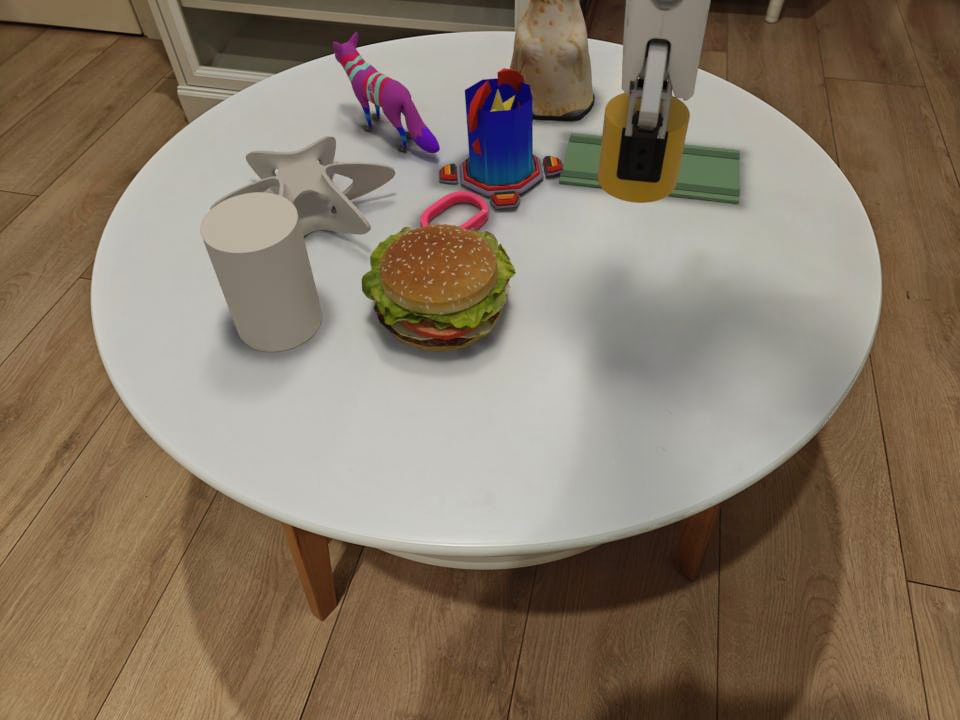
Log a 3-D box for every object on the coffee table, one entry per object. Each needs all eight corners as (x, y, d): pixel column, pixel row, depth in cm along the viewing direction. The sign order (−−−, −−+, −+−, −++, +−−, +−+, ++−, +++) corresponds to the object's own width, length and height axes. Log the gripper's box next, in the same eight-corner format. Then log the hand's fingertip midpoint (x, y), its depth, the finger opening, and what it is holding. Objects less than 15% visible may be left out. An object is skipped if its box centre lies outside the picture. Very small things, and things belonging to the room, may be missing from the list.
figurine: (501, 118, 97) (501, -50, 82) (507, 76, 103) (508, -86, 88) (594, 122, 96) (612, -47, 81) (594, 79, 102) (610, -84, 87)
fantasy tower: (507, 214, 83) (504, 112, 74) (429, 177, 89) (417, 78, 80) (572, 165, 89) (576, 66, 80) (495, 133, 94) (491, 37, 86)
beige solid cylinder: (290, 279, 78) (262, 180, 68) (339, 319, 74) (316, 220, 65) (221, 320, 74) (182, 222, 65) (268, 365, 70) (234, 266, 61)
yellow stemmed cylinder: (677, 161, 62) (695, 73, 57) (674, 207, 58) (693, 117, 53) (601, 153, 63) (611, 66, 58) (593, 198, 59) (603, 109, 54)
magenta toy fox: (355, 102, 100) (343, 24, 92) (451, 156, 91) (446, 75, 84) (333, 114, 98) (318, 35, 90) (428, 170, 90) (421, 88, 82)
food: (533, 276, 77) (535, 212, 71) (483, 376, 69) (482, 313, 63) (409, 246, 81) (401, 183, 75) (347, 338, 72) (333, 275, 66)
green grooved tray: (738, 153, 91) (739, 149, 90) (738, 203, 84) (739, 200, 84) (571, 135, 94) (571, 131, 93) (558, 183, 87) (559, 179, 87)
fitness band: (448, 251, 80) (448, 240, 79) (409, 228, 83) (408, 217, 81) (499, 214, 84) (499, 203, 83) (460, 193, 86) (460, 182, 85)
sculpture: (309, 297, 76) (296, 248, 71) (190, 217, 85) (172, 168, 80) (430, 212, 84) (426, 163, 80) (311, 147, 93) (301, 100, 88)
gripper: (749, -48, 39) (687, 227, 53) (744, -150, 51) (693, 99, 64) (603, -56, 41) (578, 215, 54) (629, -154, 52) (604, 91, 65)
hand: (641, 150), depth 59 cm, fingers closed on yellow stemmed cylinder, 6 cm apart
